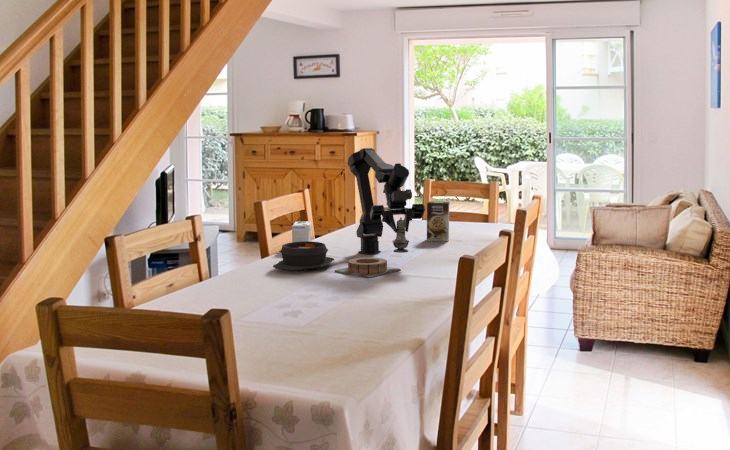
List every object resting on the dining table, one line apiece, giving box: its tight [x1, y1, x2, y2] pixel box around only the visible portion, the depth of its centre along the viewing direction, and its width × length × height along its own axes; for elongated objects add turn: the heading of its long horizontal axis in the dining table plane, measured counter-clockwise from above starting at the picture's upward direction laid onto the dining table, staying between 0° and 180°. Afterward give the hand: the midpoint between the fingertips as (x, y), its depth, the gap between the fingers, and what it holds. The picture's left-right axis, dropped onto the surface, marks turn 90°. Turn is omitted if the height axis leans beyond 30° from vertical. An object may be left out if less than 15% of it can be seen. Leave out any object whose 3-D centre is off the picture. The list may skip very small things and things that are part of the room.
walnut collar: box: [334, 256, 402, 279], centre depth 279 cm, size 16×16×4 cm
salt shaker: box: [391, 217, 410, 254], centre depth 281 cm, size 6×6×12 cm
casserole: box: [272, 241, 335, 272], centre depth 286 cm, size 25×19×8 cm
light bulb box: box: [291, 220, 312, 243], centre depth 321 cm, size 11×7×11 cm, turn 178°
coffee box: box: [426, 201, 451, 243], centre depth 339 cm, size 9×6×16 cm
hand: (401, 231), depth 280 cm, fingers closed on salt shaker, 4 cm apart
